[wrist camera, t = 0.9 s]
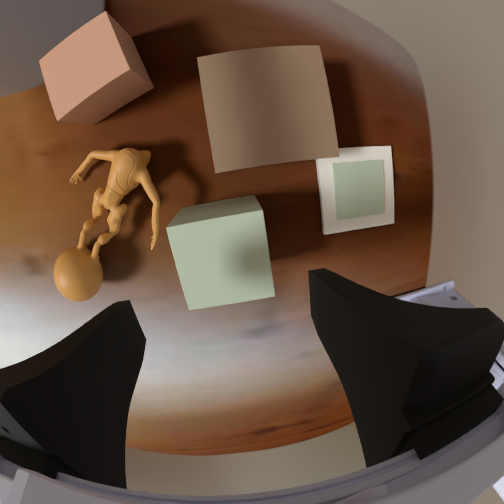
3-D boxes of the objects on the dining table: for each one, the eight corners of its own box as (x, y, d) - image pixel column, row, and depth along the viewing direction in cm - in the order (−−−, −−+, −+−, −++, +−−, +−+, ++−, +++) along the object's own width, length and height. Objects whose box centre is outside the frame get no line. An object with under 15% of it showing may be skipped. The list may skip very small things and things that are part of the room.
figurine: (115, 325, 19) (202, 198, 20) (81, 345, 13) (194, 173, 14) (48, 262, 18) (125, 144, 20) (4, 261, 13) (98, 109, 14)
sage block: (254, 194, 18) (262, 210, 14) (264, 262, 20) (274, 296, 15) (181, 207, 18) (166, 227, 14) (197, 273, 20) (189, 310, 15)
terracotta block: (131, 37, 13) (105, 11, 9) (154, 88, 15) (129, 69, 10) (75, 74, 14) (39, 60, 9) (95, 125, 15) (57, 121, 11)
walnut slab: (307, 60, 15) (319, 45, 12) (324, 156, 17) (339, 156, 14) (203, 72, 15) (196, 57, 12) (219, 170, 17) (215, 173, 14)
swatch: (388, 145, 17) (392, 146, 17) (391, 221, 20) (395, 223, 19) (314, 150, 17) (317, 150, 17) (322, 233, 20) (325, 235, 19)
